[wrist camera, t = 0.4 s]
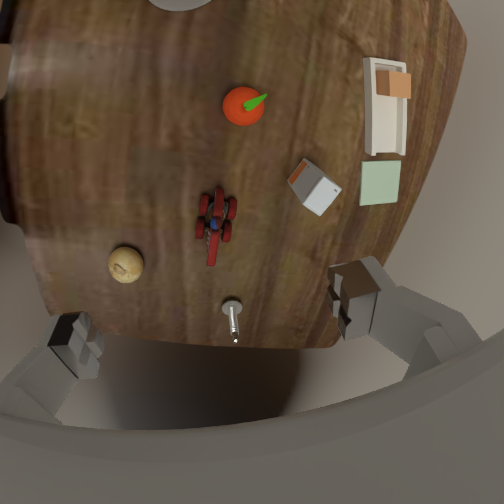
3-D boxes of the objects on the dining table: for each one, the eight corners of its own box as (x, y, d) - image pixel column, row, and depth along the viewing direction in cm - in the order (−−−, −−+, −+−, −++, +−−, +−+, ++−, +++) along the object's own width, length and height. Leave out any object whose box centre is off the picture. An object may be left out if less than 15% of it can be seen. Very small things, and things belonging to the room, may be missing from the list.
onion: (151, 252, 60) (145, 271, 54) (138, 277, 63) (132, 297, 57) (118, 236, 57) (109, 254, 51) (108, 263, 60) (99, 282, 54)
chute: (362, 58, 43) (370, 57, 40) (397, 63, 43) (405, 63, 40) (364, 151, 53) (371, 155, 51) (397, 151, 54) (404, 155, 51)
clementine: (253, 77, 44) (258, 75, 38) (273, 108, 47) (281, 111, 41) (214, 100, 45) (214, 101, 39) (235, 130, 49) (238, 136, 43)
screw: (228, 312, 72) (217, 300, 69) (244, 304, 71) (234, 292, 69) (232, 352, 61) (220, 341, 59) (251, 344, 60) (239, 332, 58)
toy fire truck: (238, 187, 55) (243, 209, 46) (227, 242, 61) (229, 271, 52) (202, 182, 53) (200, 203, 45) (194, 238, 60) (191, 267, 51)
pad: (361, 161, 54) (362, 161, 54) (399, 160, 55) (400, 160, 54) (358, 204, 60) (360, 205, 59) (395, 200, 60) (396, 201, 60)
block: (372, 70, 43) (389, 70, 38) (393, 73, 44) (410, 74, 39) (373, 93, 46) (389, 96, 41) (393, 95, 46) (410, 98, 41)
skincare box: (303, 156, 53) (324, 175, 43) (319, 168, 55) (343, 189, 45) (285, 180, 55) (301, 204, 45) (301, 191, 57) (320, 217, 47)
